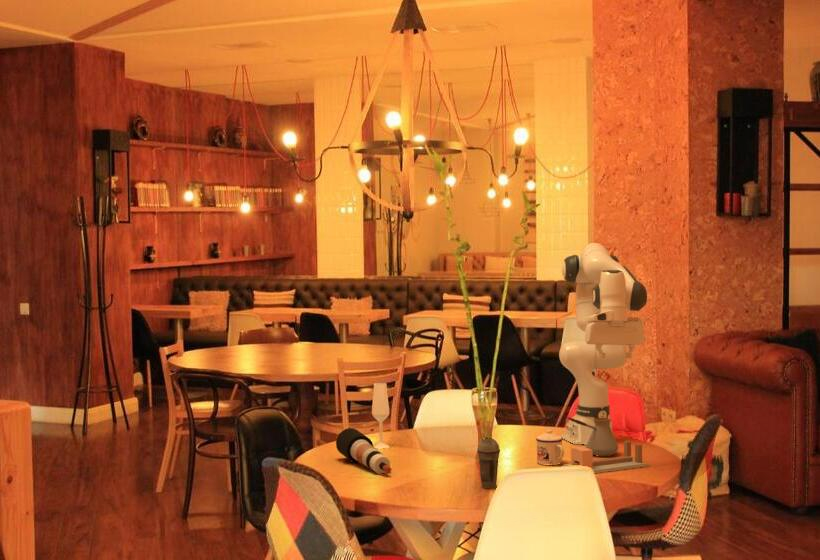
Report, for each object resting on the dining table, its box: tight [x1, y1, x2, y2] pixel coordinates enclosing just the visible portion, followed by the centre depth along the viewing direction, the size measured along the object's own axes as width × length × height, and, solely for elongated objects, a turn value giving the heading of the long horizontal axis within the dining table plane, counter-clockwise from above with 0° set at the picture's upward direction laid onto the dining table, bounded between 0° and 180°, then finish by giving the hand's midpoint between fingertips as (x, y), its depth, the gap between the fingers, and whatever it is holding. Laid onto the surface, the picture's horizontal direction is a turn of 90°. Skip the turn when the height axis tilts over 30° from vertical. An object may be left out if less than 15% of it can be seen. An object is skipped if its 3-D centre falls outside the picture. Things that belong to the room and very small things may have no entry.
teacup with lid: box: [535, 429, 565, 466], centre depth 363 cm, size 12×9×12 cm
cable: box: [335, 427, 392, 475], centre depth 362 cm, size 10×34×10 cm, turn 26°
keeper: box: [570, 445, 594, 468], centre depth 352 cm, size 7×4×6 cm, turn 25°
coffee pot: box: [564, 417, 619, 457], centre depth 374 cm, size 21×12×15 cm, turn 117°
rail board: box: [562, 440, 648, 474], centre depth 356 cm, size 12×26×7 cm, turn 115°
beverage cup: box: [476, 424, 501, 490], centre depth 331 cm, size 7×7×20 cm
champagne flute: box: [371, 382, 391, 450], centre depth 395 cm, size 7×7×24 cm
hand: (615, 358), depth 349 cm, fingers open, 8 cm apart
